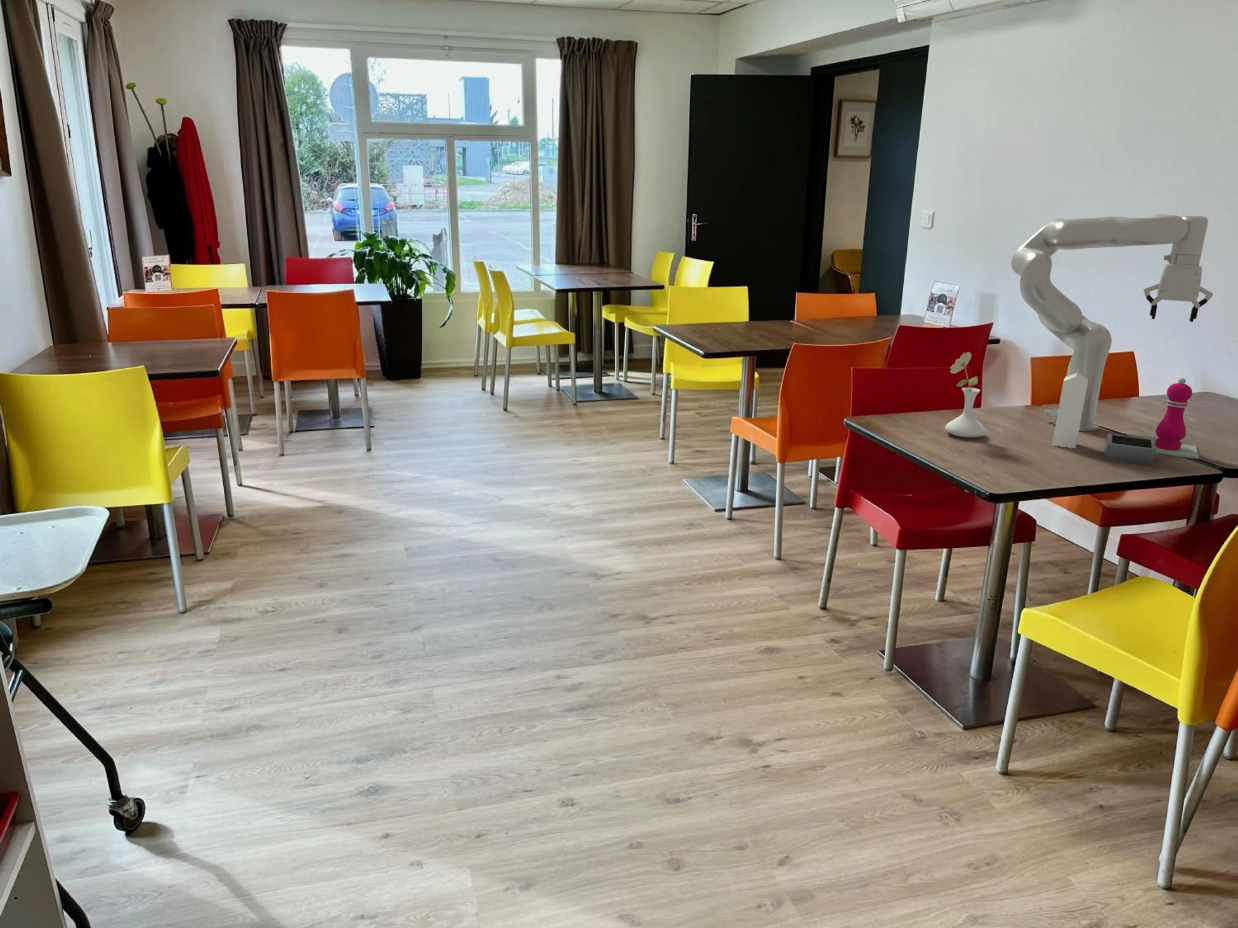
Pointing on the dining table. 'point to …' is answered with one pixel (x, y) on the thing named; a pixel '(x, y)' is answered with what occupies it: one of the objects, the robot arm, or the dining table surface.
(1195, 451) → the mat
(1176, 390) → the pepper mill
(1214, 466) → the dining table surface
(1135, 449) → the grey open storage bin
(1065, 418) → the milk
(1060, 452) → the dining table surface
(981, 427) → the flower in vase
